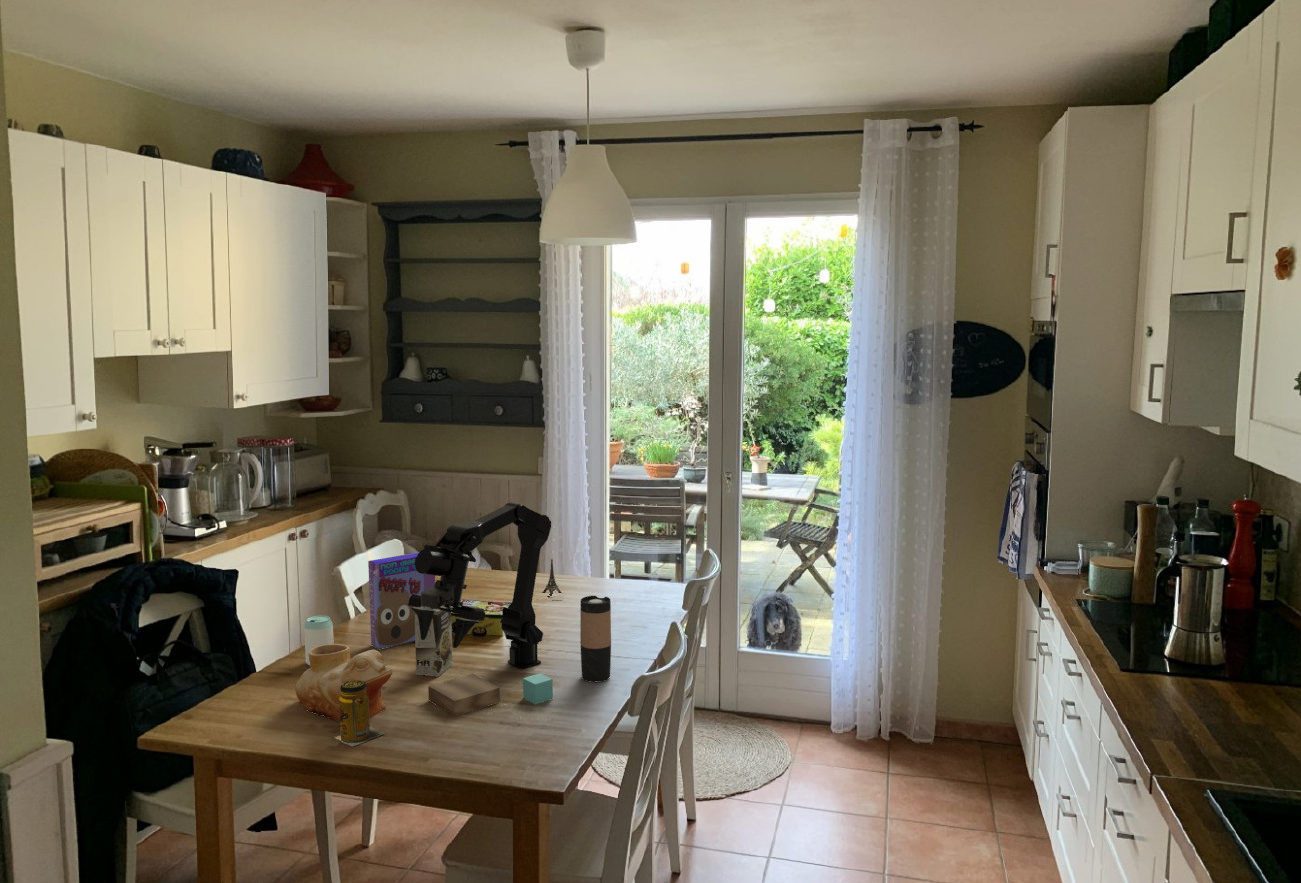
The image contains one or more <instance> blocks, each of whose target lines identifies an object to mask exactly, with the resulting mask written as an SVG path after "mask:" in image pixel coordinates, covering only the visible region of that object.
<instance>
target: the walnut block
mask: <svg viewBox="0 0 1301 883" xmlns="http://www.w3.org/2000/svg"><path fill="white" fill-rule="evenodd" d="M427 686H428V689H427V690H428V693H427V694H428V701H429V700H430V701H431V703H432V702H433V703H432V704H433V705H435V704H436V705H435V706H437V707H439V708H441V709H442V710H444V711H445V710H446V712H447V711H448V712H447V713H449V714H451V715H452V716H454V717H456V715H457V716H460V715H463V714H466V712H467V713H470V712H473V711H476V710H479V708H480V709H483V708H486V707H489V706H488V705H490V706H492V705H491V704H493V705H496V704H499V703H498V702H500V703H501V690H500V689H501V688H500V687H499V686H498V685H495V684H494V683H492V682H490V681H488V680H486V679H484V678H481V677H480V676H478V675H476V674H474V673H471V674H467V675H464V676H459V677H455V678H453V679H449V680H444V681H441V682H437V683H435V684H430V685H427ZM430 701H429V702H430ZM495 703H496V704H495ZM482 707H483V708H482ZM472 710H473V711H472ZM469 711H470V712H469ZM462 713H463V714H462Z"/></svg>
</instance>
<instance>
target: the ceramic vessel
mask: <svg viewBox="0 0 1301 883" xmlns="http://www.w3.org/2000/svg"><path fill="white" fill-rule="evenodd" d="M309 661H310V665H309V668H308V669H306V671H304V672H303V674H301V676H300V677H299V679H298V681H297V682H296V684H295V690H294V691H295V694H296V697H297V698H298V701H299V703H300V704H301V705H302V707H303V709H304V710H305V711H306V710H308V711H309V712H313V713H316V714H315V715H317V714H318V716H320V715H324V716H325V718H328V717H330V718H329V719H331V718H332V720H334V721H337V722H338V723H340V708H339V698H340V696H341V694H340V693H341V689H340V687H341V685H342V684H343V683H345V682H347V681H352V680H361V681H364V682H365V683H366V690H367V691H366V693H367V694H368V699H369V719H370V718H373V717H374V716H376V715H378V714H380V713H382V712H384V711H385V710H386V708H387V707H386V706H387V705H386V704H385V703H384V701H383V699H382V698H383V697H382V688H383V686H384V685H386V683H388V682H389V680H390V678H391V677H392V675H393V670H392V669H391V668H389V667H388V666H386V665H385V663H384V657H383V655H382V654H381V653H380V651H379V650H376V649H369V650H366V651H363V652H361V653H358V654H355V655H354V656H353V657H351V648H350V646H348V645H346V644H343V643H342V644H341V643H334V644H325V645H320V646H317V647H314V648H312V649H311V650H310V651H309ZM383 710H384V711H383ZM308 711H307V712H308ZM381 711H382V712H381ZM309 712H308V713H309ZM313 713H312V714H313ZM324 716H323V717H324Z"/></svg>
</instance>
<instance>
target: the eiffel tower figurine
mask: <svg viewBox="0 0 1301 883" xmlns="http://www.w3.org/2000/svg"><path fill="white" fill-rule="evenodd" d="M553 561H554V559H553V558H550V571H549V572H550V573H549V578H548V583H547V584H546V585H545V587H544V588H545V589H544V590H542V592H541V593H547V591H548V592H550V594H549V595H550V596H552V594H553V591H555V592H558V593H562V591H561V589H560V588H559V585H557V583H556V582H557V581H556V579H555V574H554V562H553ZM562 594H563V593H562Z"/></svg>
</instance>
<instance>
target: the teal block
mask: <svg viewBox="0 0 1301 883" xmlns="http://www.w3.org/2000/svg"><path fill="white" fill-rule="evenodd" d="M553 682H554V681H553V678H551V677H549V676H548V675H545V674H543V673H536V674H533V675H530V676H527V677H523V678H522V698H525V699H527V700H529V701H530V703H531V702H532V703H531V704H533V703H534V704H533V705H535V704H536V705H538V703H539V704H541V702H542V703H544V702H543V701H545V702H547V701H546V700H548V701H551V700H550V699H552V698H553V699H554V695H553V694H554V690H553V689H554V688H553V686H554V685H553V684H554V683H553ZM525 699H524V700H525ZM553 699H552V700H553ZM527 700H526V701H527ZM529 701H528V702H529Z"/></svg>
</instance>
